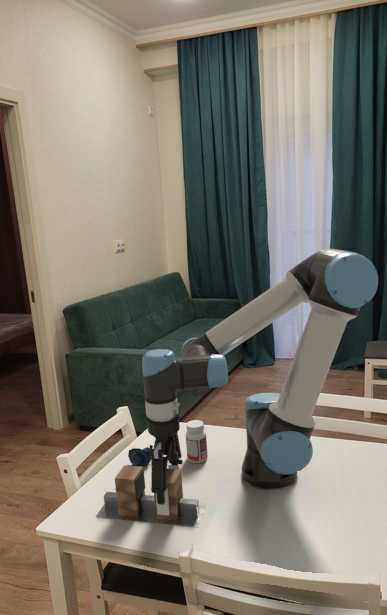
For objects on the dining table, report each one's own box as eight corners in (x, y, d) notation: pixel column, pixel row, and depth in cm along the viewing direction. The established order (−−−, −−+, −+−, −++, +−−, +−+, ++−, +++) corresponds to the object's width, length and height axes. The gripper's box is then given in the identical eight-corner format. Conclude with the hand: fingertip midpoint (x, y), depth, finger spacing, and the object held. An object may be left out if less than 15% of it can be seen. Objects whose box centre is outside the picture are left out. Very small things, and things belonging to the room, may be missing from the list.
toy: (165, 440, 152) (148, 450, 138) (165, 463, 152) (147, 476, 138) (141, 438, 155) (121, 448, 140) (141, 461, 154) (121, 473, 140)
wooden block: (147, 502, 123) (144, 466, 121) (139, 517, 118) (135, 479, 116) (127, 500, 125) (123, 465, 123) (118, 515, 119) (114, 478, 117)
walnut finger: (183, 506, 121) (180, 469, 119) (177, 521, 115) (174, 483, 113) (163, 504, 122) (160, 468, 120) (155, 518, 117) (152, 481, 115)
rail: (206, 507, 121) (205, 491, 120) (198, 531, 113) (197, 513, 112) (110, 499, 128) (108, 483, 127) (95, 520, 119) (93, 504, 118)
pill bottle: (204, 452, 149) (202, 417, 147) (209, 461, 143) (207, 426, 141) (185, 455, 148) (182, 420, 146) (189, 465, 142) (186, 429, 140)
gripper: (163, 438, 102) (171, 532, 107) (189, 397, 123) (195, 477, 128) (130, 436, 104) (139, 528, 109) (161, 396, 125) (168, 475, 130)
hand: (169, 501), depth 118 cm, fingers open, 9 cm apart
